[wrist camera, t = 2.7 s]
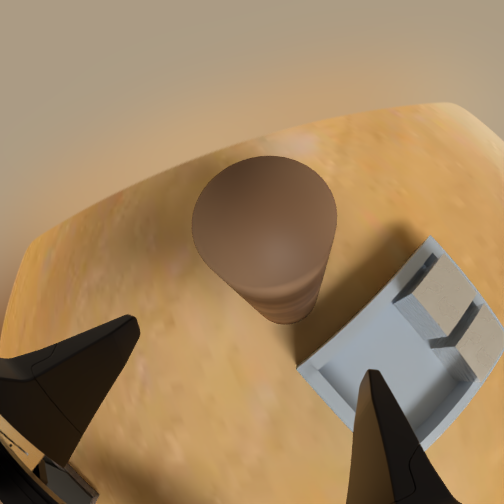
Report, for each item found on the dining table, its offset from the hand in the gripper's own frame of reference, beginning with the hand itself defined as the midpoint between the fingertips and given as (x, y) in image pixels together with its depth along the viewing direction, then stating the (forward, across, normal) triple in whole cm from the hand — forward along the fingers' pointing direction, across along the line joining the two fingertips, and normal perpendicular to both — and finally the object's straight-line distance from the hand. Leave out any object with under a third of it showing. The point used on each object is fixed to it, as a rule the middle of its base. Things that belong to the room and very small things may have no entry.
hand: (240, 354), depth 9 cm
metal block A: (+9, -15, +6) cm, 19 cm away
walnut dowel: (+11, 0, +5) cm, 12 cm away
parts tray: (+9, -11, +8) cm, 16 cm away
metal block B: (+11, -11, +4) cm, 16 cm away
